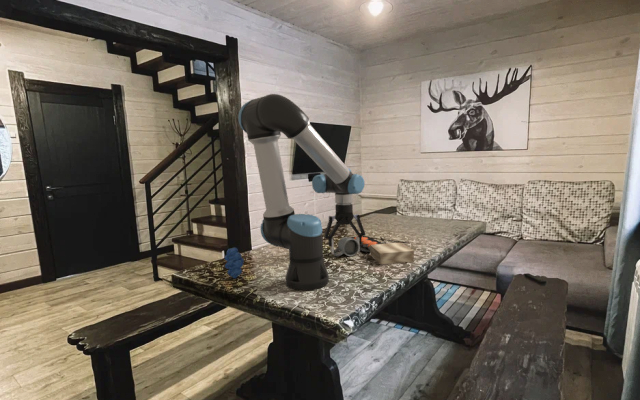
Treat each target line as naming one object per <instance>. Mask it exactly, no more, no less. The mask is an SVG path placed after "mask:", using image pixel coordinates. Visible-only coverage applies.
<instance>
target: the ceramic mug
mask: <svg viewBox="0 0 640 400" xmlns="http://www.w3.org/2000/svg"><path fill="white" fill-rule="evenodd" d="M348 237H349V236H348ZM348 237H347V236H345V237H342V238H340V239H339V240H338V241H337V248H336V249H334V254H333V255H334V256H335V257H339V256H340V257H341V256H342V255H345V256H348V257H354V256H356V255H357V253H359V252H358V250H359V244H358V242H357V241H356V240H355V239H352V238H348Z"/></svg>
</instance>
